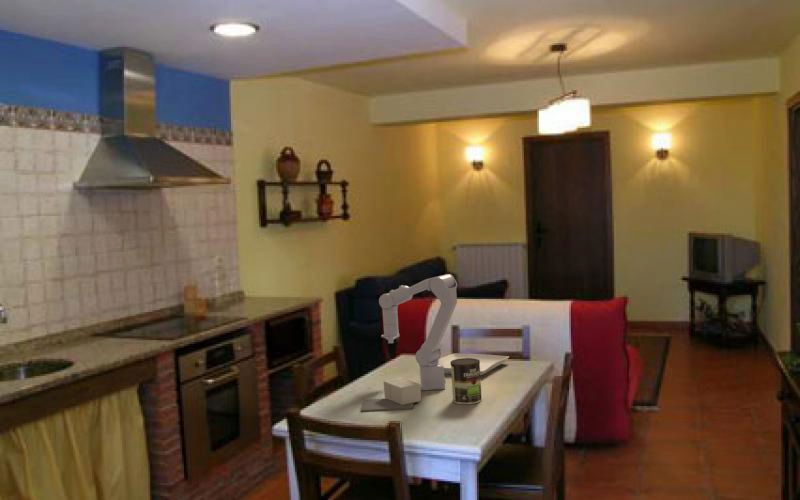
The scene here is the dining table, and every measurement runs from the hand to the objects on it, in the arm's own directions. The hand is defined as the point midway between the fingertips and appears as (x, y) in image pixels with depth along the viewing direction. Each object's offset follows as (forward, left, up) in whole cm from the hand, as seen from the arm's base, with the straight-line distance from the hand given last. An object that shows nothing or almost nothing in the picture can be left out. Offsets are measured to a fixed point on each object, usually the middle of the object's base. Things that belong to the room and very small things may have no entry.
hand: (393, 357), depth 283 cm
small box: (-1, +19, -7) cm, 20 cm away
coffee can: (-27, +28, -11) cm, 40 cm away
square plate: (-29, -19, -11) cm, 37 cm away
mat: (+1, +29, -10) cm, 30 cm away
